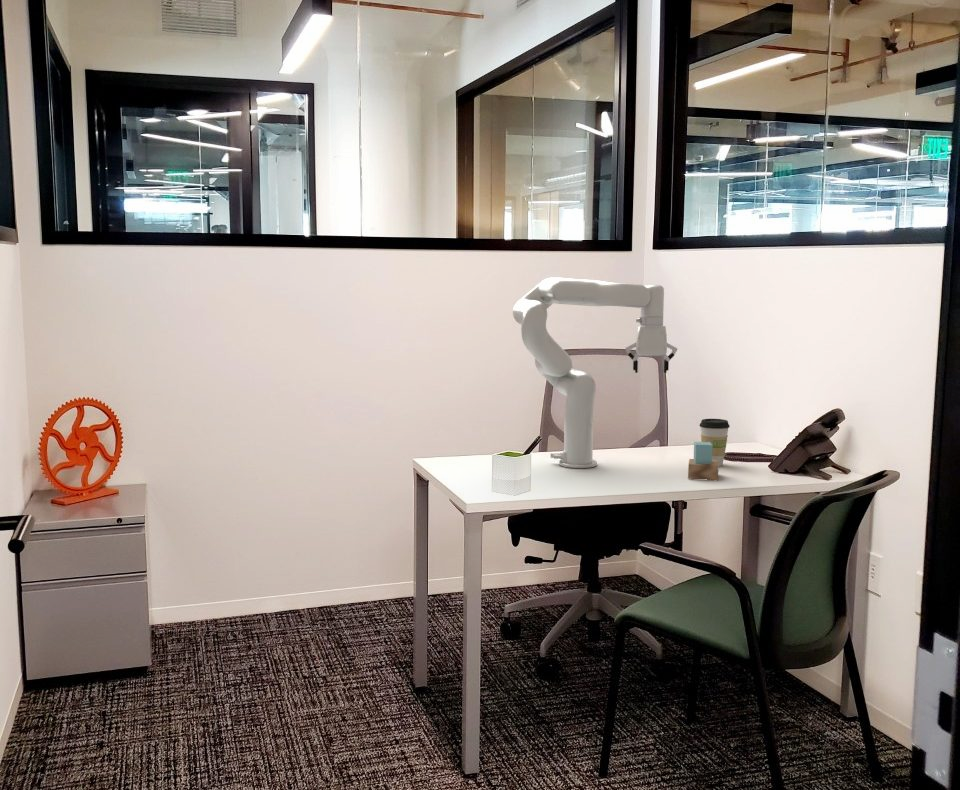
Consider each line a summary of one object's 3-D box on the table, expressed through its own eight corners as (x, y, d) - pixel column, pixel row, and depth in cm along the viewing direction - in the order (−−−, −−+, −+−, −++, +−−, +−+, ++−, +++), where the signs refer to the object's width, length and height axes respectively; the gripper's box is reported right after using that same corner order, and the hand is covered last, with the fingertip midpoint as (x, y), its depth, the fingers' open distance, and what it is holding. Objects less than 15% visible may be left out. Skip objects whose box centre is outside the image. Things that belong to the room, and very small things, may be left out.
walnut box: (688, 479, 288) (688, 464, 288) (689, 474, 297) (689, 458, 296) (717, 481, 286) (718, 465, 286) (718, 475, 295) (718, 460, 294)
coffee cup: (729, 468, 304) (730, 423, 302) (698, 467, 306) (699, 422, 304) (727, 462, 314) (729, 418, 312) (697, 461, 316) (699, 417, 314)
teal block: (695, 463, 289) (695, 444, 288) (693, 460, 294) (694, 441, 293) (711, 464, 288) (712, 445, 287) (709, 460, 293) (710, 442, 292)
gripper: (626, 322, 308) (625, 373, 310) (679, 322, 306) (677, 374, 308) (625, 321, 316) (624, 371, 318) (676, 321, 314) (675, 371, 316)
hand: (650, 372), depth 313 cm, fingers open, 9 cm apart
